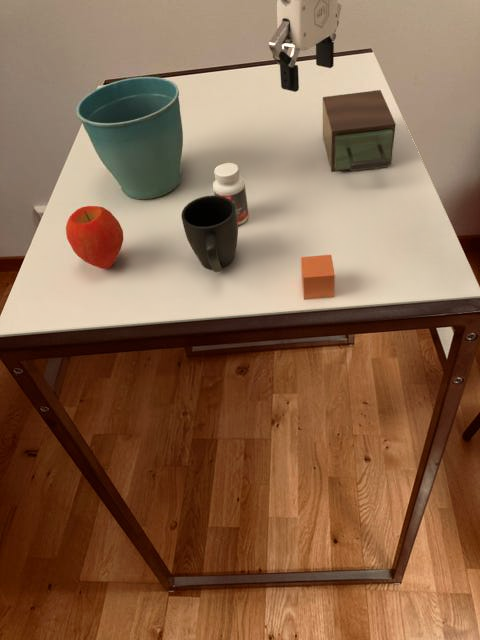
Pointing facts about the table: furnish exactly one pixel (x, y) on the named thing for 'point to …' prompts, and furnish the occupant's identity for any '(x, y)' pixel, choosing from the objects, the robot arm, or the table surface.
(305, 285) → the block
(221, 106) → the table surface
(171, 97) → the flower pot
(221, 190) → the pill bottle
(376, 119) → the cabinet
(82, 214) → the apple
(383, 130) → the drawer
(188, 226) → the mug
